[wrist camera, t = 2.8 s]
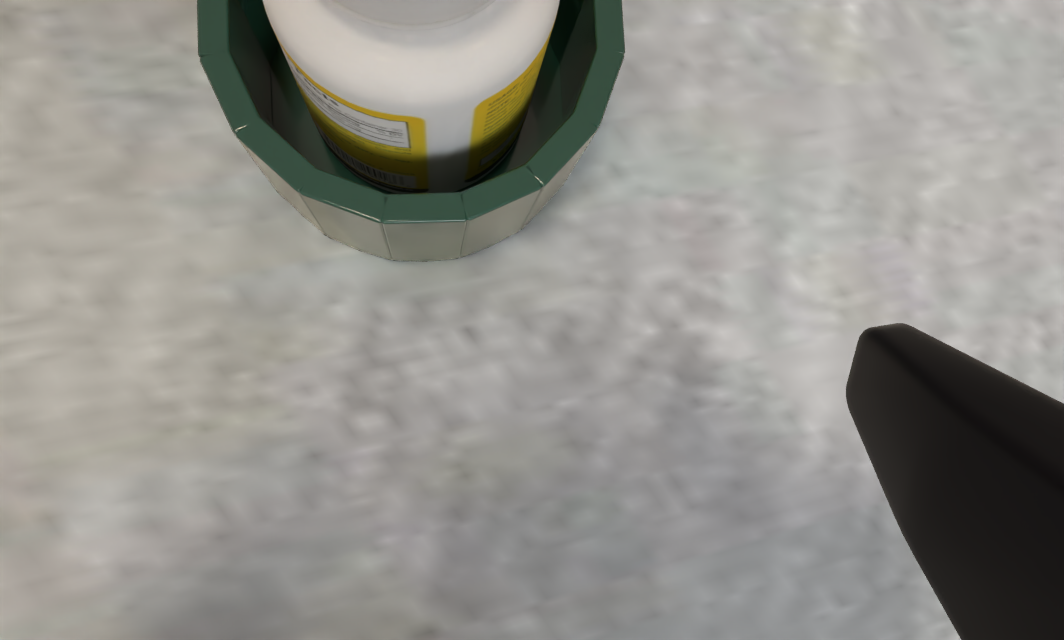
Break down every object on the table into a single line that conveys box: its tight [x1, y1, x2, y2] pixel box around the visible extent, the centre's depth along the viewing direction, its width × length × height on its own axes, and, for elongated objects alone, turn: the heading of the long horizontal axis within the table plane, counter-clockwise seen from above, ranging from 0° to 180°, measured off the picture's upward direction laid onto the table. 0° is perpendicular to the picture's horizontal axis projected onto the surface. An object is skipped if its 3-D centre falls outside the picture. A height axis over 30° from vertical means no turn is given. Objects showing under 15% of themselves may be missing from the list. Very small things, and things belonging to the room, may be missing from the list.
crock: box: [197, 0, 625, 262], centre depth 20 cm, size 8×8×5 cm
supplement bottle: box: [262, 0, 560, 194], centre depth 17 cm, size 5×5×10 cm
